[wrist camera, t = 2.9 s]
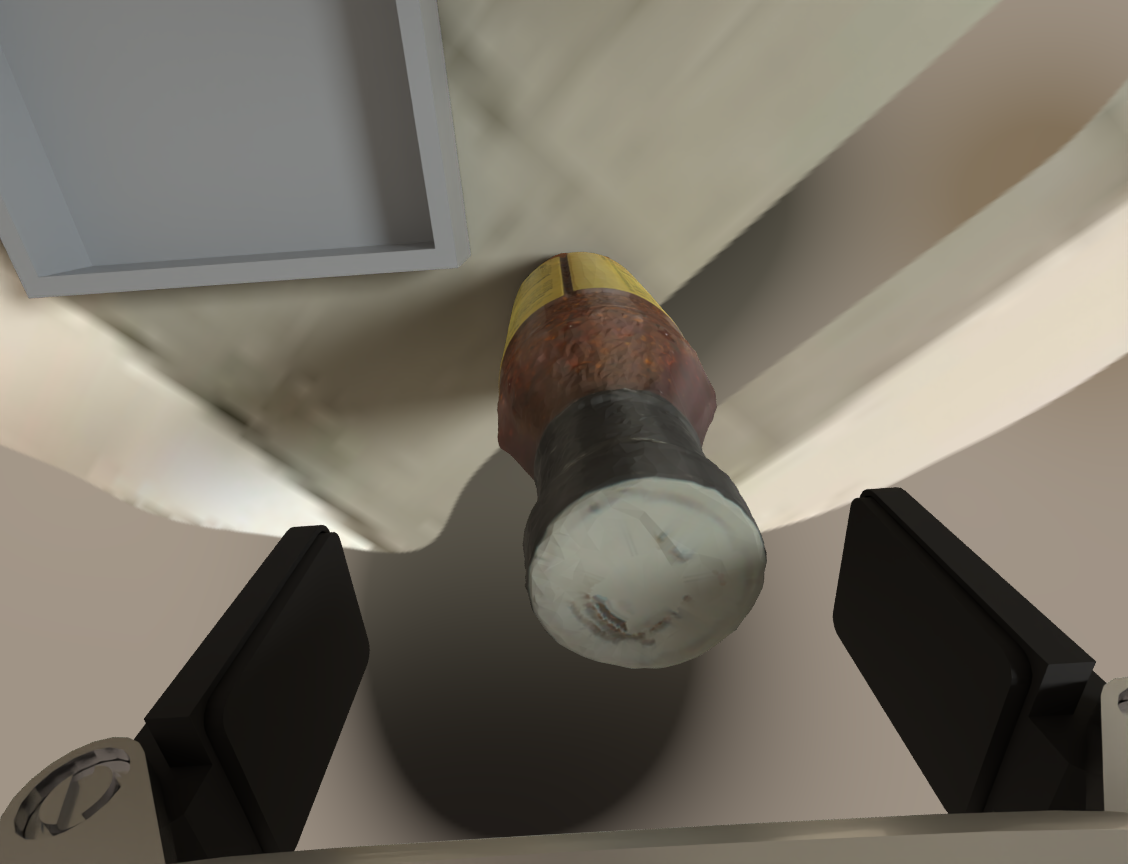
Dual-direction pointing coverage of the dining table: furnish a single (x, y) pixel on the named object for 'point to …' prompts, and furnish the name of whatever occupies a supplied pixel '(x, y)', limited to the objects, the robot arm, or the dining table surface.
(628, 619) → the sauce bottle
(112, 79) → the parts tray
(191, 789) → the robot arm
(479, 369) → the dining table surface
